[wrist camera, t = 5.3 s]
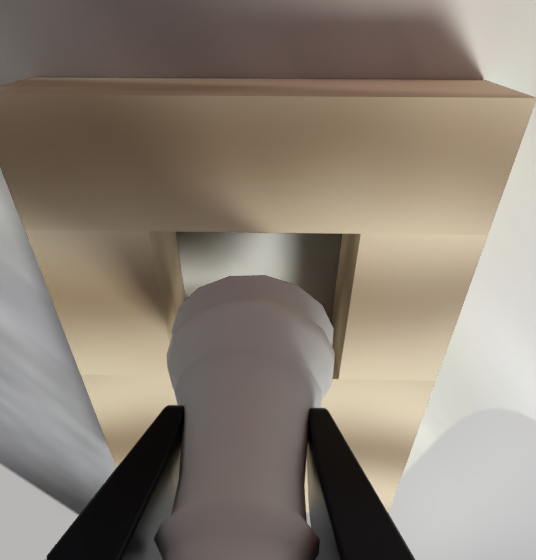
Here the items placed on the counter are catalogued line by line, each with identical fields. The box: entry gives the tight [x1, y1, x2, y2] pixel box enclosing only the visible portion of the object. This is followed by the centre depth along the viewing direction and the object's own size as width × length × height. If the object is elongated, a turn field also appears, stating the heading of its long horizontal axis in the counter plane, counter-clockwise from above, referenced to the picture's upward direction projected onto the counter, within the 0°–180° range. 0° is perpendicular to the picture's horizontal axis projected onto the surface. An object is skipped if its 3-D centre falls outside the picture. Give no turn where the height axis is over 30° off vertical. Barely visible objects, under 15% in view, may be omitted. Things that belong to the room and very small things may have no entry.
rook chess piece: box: [154, 275, 335, 560], centre depth 8 cm, size 4×4×8 cm
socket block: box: [0, 77, 536, 513], centre depth 15 cm, size 18×12×2 cm, turn 0°
